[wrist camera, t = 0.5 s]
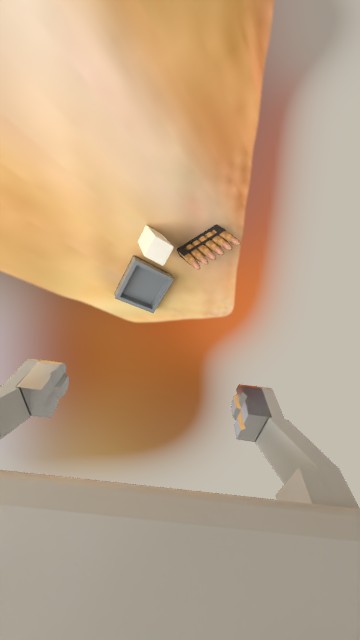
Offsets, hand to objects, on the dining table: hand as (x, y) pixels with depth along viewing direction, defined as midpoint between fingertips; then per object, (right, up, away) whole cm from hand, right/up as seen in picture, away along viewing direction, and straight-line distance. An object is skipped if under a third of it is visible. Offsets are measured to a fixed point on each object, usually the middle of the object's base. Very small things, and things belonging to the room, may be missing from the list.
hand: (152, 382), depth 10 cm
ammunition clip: (+5, +22, +40) cm, 46 cm away
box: (-8, +12, +42) cm, 44 cm away
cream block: (-5, +21, +37) cm, 43 cm away
